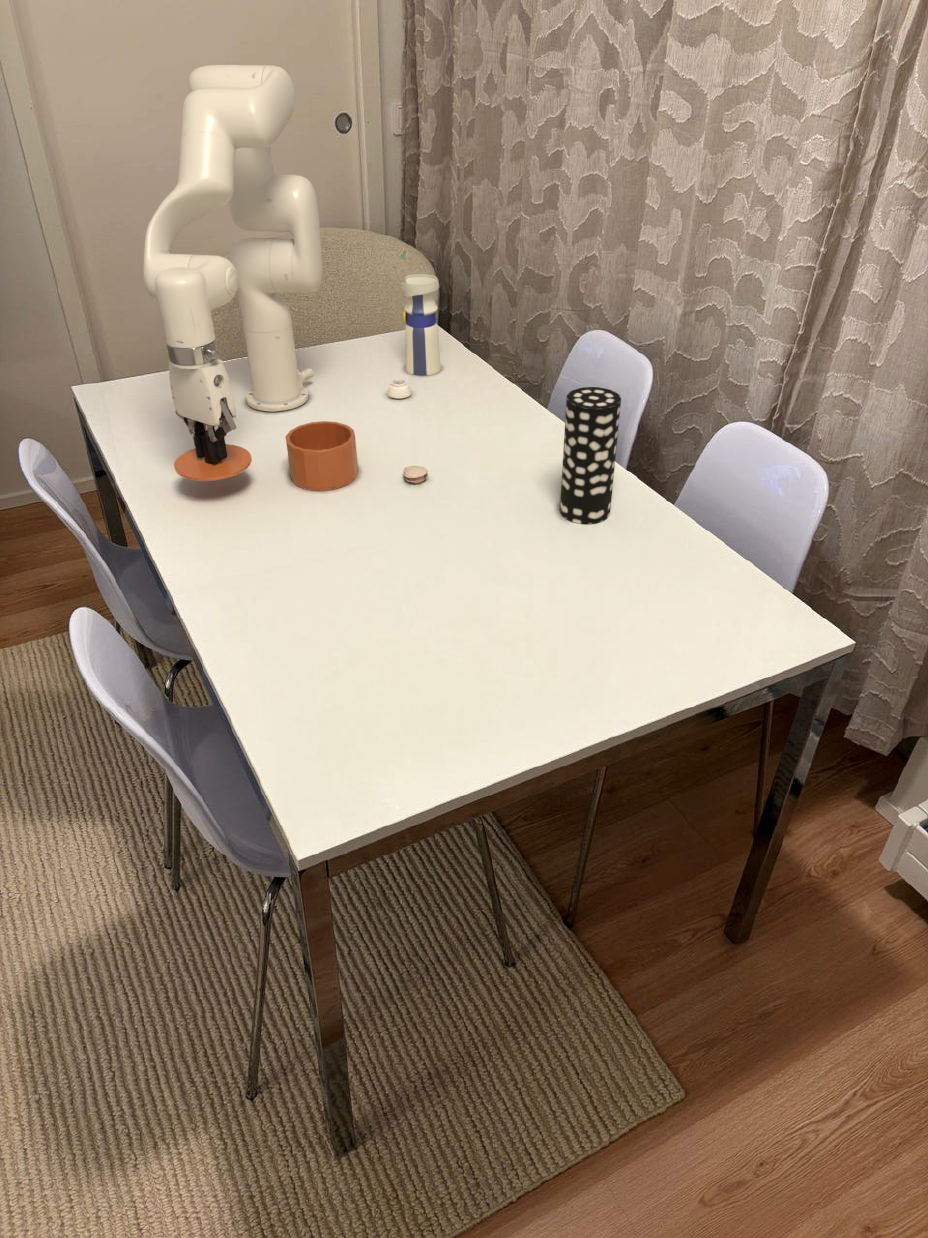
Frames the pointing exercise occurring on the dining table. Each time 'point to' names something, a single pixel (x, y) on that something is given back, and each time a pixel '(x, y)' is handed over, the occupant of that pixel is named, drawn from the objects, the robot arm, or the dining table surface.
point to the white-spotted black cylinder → (589, 454)
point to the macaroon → (415, 474)
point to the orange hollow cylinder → (322, 455)
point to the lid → (209, 471)
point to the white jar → (399, 389)
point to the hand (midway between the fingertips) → (212, 456)
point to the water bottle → (420, 323)
